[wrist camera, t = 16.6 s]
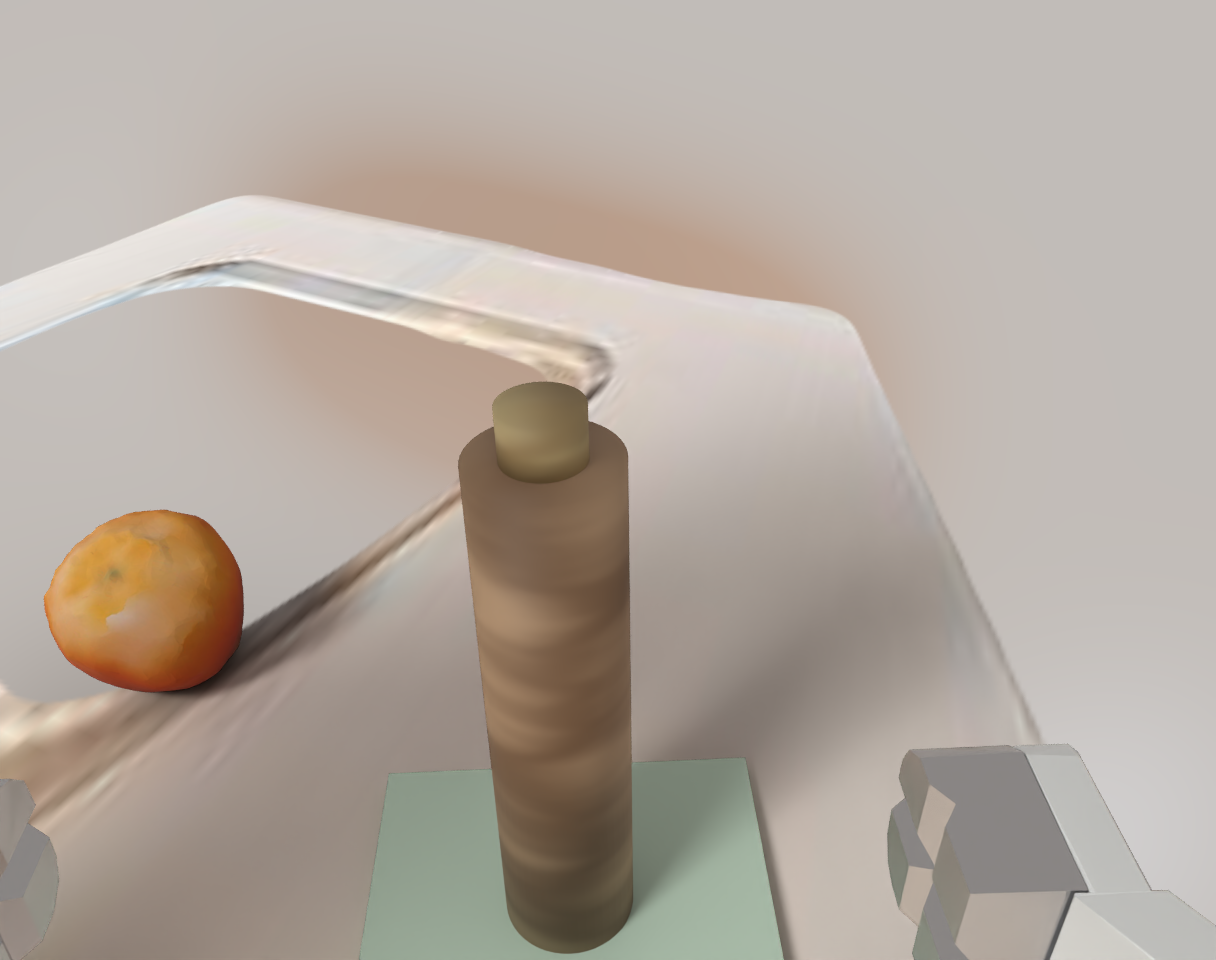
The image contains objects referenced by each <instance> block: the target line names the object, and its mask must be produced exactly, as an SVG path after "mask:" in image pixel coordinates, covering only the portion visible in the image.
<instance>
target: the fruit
mask: <svg viewBox="0 0 1216 960" xmlns="http://www.w3.org/2000/svg"><path fill="white" fill-rule="evenodd" d="M44 606H45V612H46V616H47V619H48V621H49V628H50V630H51V633H52V635H53V637H54V639H55V641H56V643H57V645H58V647H59V648H60V650H61V652H62V653H63V655H64V656H65V657H66V659H67V660H68V661H69V662H70V663H71V664H73V665H74V666H75V667H77V668H78V669H80V670H82V671H83V672H85V673H86V674H88V675H90V676H91V677H93V678H96V679H97V680H100V681H102V682H105V683H108V684H111V685H114V686H117V687H120V688H125V689H129V690H135V691H142V692H160V691H172V690H180V689H187V688H191V687H193V686H196V685H198V684H200V683H202V682H204V681H206V680H207V679H209V678H211V677H212V676H214V675H215V674H216V673H218V672H219V671H220V670H221V668H222V667H223V666H224V664H225V663H226V661H227V660H228V659H229V658H230V657H231V656H232V655H233V653H234V652H235V650H236V649H237V648H238V646H239V643H240V639H241V635H242V625H243V616H244V604H243V586H242V577H241V572H240V569H239V567H238V564H237V562H236V560H235V558H234V556H233V554H232V553H231V551H230V549H229V548H228V546H227V545H226V544H225V542H224V541H223V540H222V538H221V537H220V536H219V535H218V533H217V532H216V531H215V530H214V528H213V527H212V526H210V524H208V523H207V522H206V521H205V520H203V519H201V518H199V517H197V516H193V515H188V514H182V513H177V512H172V511H168V510H154V511H142V512H133V513H129V514H126V515H123V516H121V517H119V518H116V519H113V520H110V521H108V522H106V523H104V524H103V525H100V526H98V527H97V528H96V529H95V530H94V531H93V532H92V533H91V534H90V535H88V536H86V537H85V538H84V539H83V540H82V541H81V542H79V543H77V544H76V545H75V546H74V547H73V548H72V550H71V551H70V552H69V553H68V554H67V556H66V557H65V559H64V561H63V562H62V564H61V565H60V566H59V567H58V568H57V569H56V570H55V574H54V577H53V579H52V582H51V586H50V588H49V590H48V591H47V592H46V594H45V596H44Z"/></svg>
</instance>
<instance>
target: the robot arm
mask: <svg viewBox="0 0 1216 960" xmlns="http://www.w3.org/2000/svg"><path fill="white" fill-rule="evenodd" d="M899 780H900V783H901V786H902V789H903V792H904V795H905V798H904V799H903V800H902V801H901V802H900V803H899V804H897V805H896V806H895V807H894V808H893V809H892V810H891V816H890V821H889V827H888V833H887V841H888V865H889V870H890V876H891V881H892V886H893V890H894V893H895V897H896V900H897V904H898V907H899V910H900V911H901V912H902V913H904V914H905V915H906V916H907V917H908V918H909V919H910V920H911V921H912V922H913V923H915V924H916V925H917V926H918V931H917V935H916V939H915V943H914V947H913V951H912V954H913V957H914V960H1216V926H1215V925H1214V924H1213V923H1211V922H1210V921H1209V920H1207V919H1206V918H1205V917H1203V916H1202V915H1201V914H1199V913H1198V912H1197V911H1195V910H1194V909H1193V908H1191V907H1190V906H1189V905H1187V904H1186V903H1185V902H1183V901H1182V900H1180V899H1179V898H1178V897H1177V896H1175V895H1174V894H1172V893H1171V892H1170V891H1168V890H1151V888H1150V886H1149V884H1148V882H1147V880H1146V879H1145V876H1144V875H1143V873H1142V871H1141V869H1140V867H1139V865H1138V863H1137V862H1136V860H1135V858H1134V856H1133V854H1132V852H1131V850H1130V848H1129V846H1128V845H1127V843H1126V841H1125V839H1124V837H1123V835H1122V834H1121V832H1120V830H1119V828H1118V826H1117V824H1116V822H1115V820H1114V818H1113V817H1112V815H1111V813H1110V811H1109V809H1108V807H1107V805H1106V804H1105V802H1104V800H1103V798H1102V796H1101V794H1100V792H1099V790H1098V789H1097V787H1096V785H1095V783H1094V781H1093V779H1092V777H1091V776H1090V774H1089V772H1088V770H1087V768H1086V766H1085V764H1084V762H1083V760H1082V759H1081V757H1080V755H1079V753H1078V752H1077V751H1076V750H1075V749H1074V748H1072V747H1071V746H1070V745H1069V744H1053V745H1052V744H1051V745H1022V746H1014V747H1011V746H1009V745H1006V746H983V747H960V748H937V749H913V750H909V751H908V752H907V754H906V755H905V757H904V758H903V761H902V765H901V769H900V774H899ZM35 806H36V804H35V802H34V800H33V798H32V796H31V794H30V792H29V790H28V788H27V786H26V784H25V782H24V781H23V780H14V779H0V960H21V959H22V958H23V957H24V956H26V955H27V954H28V953H29V952H30V951H31V950H33V949H34V948H35V947H36V946H37V945H38V944H40V943H41V942H42V941H43V938H44V936H45V933H46V930H47V928H48V925H49V923H50V920H51V918H52V915H53V913H54V908H55V901H56V895H57V888H58V882H59V875H58V866H57V857H56V853H55V851H54V848H53V846H52V843H51V841H50V838H49V837H48V836H46V835H45V834H43V833H42V832H40V831H39V830H37V829H36V828H34V827H33V826H31V825H30V824H28V820H29V818H30V816H31V814H32V812H33V810H34V808H35Z"/></svg>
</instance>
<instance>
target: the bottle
mask: <svg viewBox="0 0 1216 960" xmlns="http://www.w3.org/2000/svg"><path fill="white" fill-rule="evenodd" d="M492 410H493V421H494V427H492V428H490V429H487V430H485V431H484V432H482V433H480V434H479V435H477V436H476V437H475V438H473V439H472V440H471V441H470V442H469V443H468V444H467V445H466V446H465V448H464V449H463V451H462V452H461V455H460V457H459V461H458V469H459V478H460V487H461V496H462V505H463V514H464V524H465V533H466V542H467V551H468V560H469V569H470V578H471V587H472V596H473V605H474V614H475V623H476V632H477V641H478V650H479V659H480V668H481V677H482V686H483V695H484V704H485V714H486V723H487V732H488V741H489V750H490V759H491V768H492V777H493V786H494V795H495V804H496V813H497V822H498V831H499V840H500V849H501V858H502V867H503V876H504V885H505V894H506V904H507V910H508V915H509V918H510V920H511V922H512V924H513V926H514V928H515V929H516V930H517V932H518V933H519V934H520V935H521V936H522V937H523V938H524V939H525V940H527V941H528V942H529V943H531V944H532V945H534V946H536V947H538V948H540V949H543V950H545V951H549V952H553V953H560V954H574V953H581V952H585V951H589V950H592V949H595V948H597V947H599V946H601V945H603V944H605V943H606V942H608V941H609V940H611V939H612V938H613V937H614V936H615V935H616V934H617V933H618V932H619V931H620V930H621V929H622V928H623V926H624V925H625V923H626V922H627V920H628V918H629V915H630V912H631V909H632V904H633V841H632V755H631V669H630V583H629V496H628V453H627V449H626V447H625V445H624V443H623V442H622V441H621V439H620V438H619V437H618V436H617V435H616V434H614V433H613V432H611V431H610V430H608V429H607V428H605V427H603V426H601V425H598V424H596V423H593V422H590V421H588V401H587V398H586V396H585V395H584V394H583V393H582V392H581V391H580V390H578V389H576V388H574V387H572V386H569V385H566V384H562V383H556V382H532V383H526V384H521V385H518V386H515V387H512V388H510V389H508V390H506V391H504V392H502V393H501V394H500V395H498V396H497V397H496V399H495V400H494V402H493V405H492Z"/></svg>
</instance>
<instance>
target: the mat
mask: <svg viewBox="0 0 1216 960" xmlns="http://www.w3.org/2000/svg"><path fill="white" fill-rule="evenodd" d="M632 841H633V904H632V909H631V912H630V915H629V918H628V920H627V922H626V923H625V925H624V926H623V928H622V929H621V930H620V931H619V932H618V933H617V934H616V935H615V936H614V937H613V938H612V939H611V940H609V941H608V942H606V943H605V944H603V945H601V946H599V947H597V948H595V949H592V950H589V951H585V952H581V953H574V954H560V953H553V952H549V951H545V950H543V949H540V948H538V947H536V946H534V945H532V944H531V943H529V942H528V941H527V940H525V939H524V938H523V937H522V936H521V935H520V934H519V933H518V932H517V930H516V929H515V928H514V926H513V924H512V922H511V920H510V918H509V915H508V910H507V904H506V894H505V885H504V876H503V867H502V858H501V849H500V840H499V831H498V822H497V813H496V804H495V795H494V786H493V777H492V769H478V770H456V771H433V772H411V773H389V776H388V783H387V789H386V795H385V801H384V807H383V814H382V820H381V826H380V832H379V838H378V845H377V851H376V857H375V863H374V869H373V876H372V882H371V888H370V894H369V900H368V907H367V913H366V919H365V925H364V931H363V938H362V944H361V950H360V956H359V960H784V958H783V953H782V948H781V943H780V937H779V932H778V927H777V922H776V916H775V911H774V906H773V901H772V895H771V890H770V885H769V880H768V874H767V869H766V864H765V859H764V853H763V848H762V843H761V838H760V832H759V827H758V822H757V817H756V811H755V806H754V801H753V796H752V790H751V785H750V780H749V775H748V769H747V764H746V759H745V757H744V758H722V759H700V760H677V761H655V762H633V763H632Z"/></svg>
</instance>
